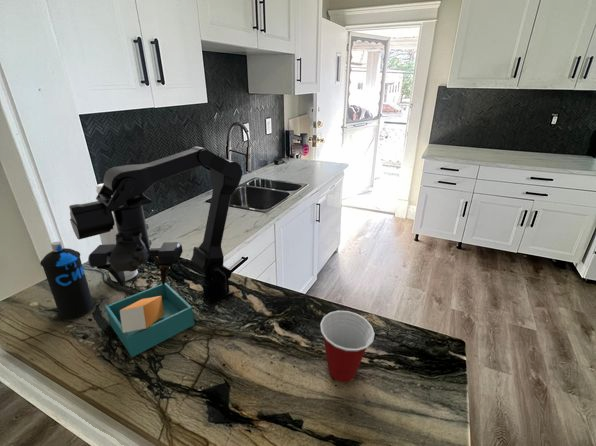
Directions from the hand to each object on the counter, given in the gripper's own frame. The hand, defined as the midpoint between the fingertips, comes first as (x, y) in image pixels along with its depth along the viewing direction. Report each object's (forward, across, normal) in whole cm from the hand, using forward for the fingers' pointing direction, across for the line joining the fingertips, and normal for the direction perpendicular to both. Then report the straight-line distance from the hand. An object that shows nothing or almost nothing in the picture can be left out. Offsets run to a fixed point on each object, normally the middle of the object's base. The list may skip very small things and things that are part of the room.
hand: (144, 285), depth 75 cm
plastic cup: (+12, +45, -19) cm, 50 cm away
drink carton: (+9, 0, +3) cm, 9 cm away
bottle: (+12, -16, +24) cm, 31 cm away
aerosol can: (+12, -22, +8) cm, 26 cm away
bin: (+12, 0, 0) cm, 12 cm away
